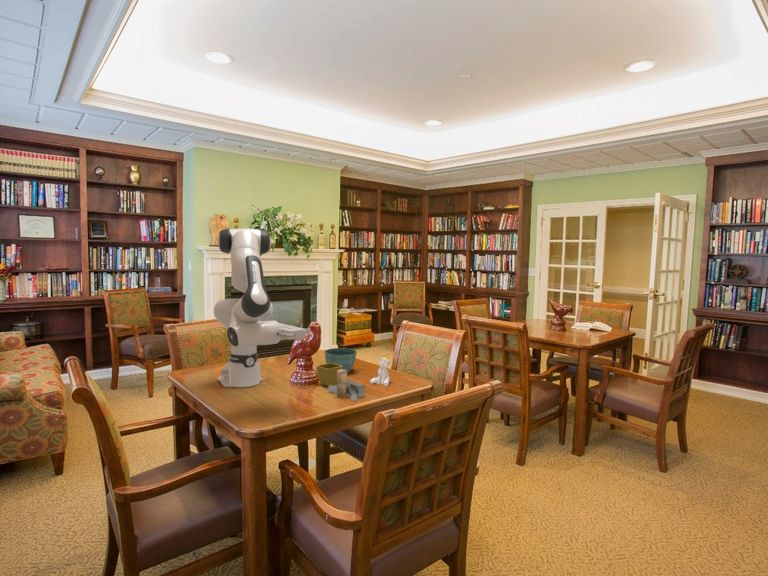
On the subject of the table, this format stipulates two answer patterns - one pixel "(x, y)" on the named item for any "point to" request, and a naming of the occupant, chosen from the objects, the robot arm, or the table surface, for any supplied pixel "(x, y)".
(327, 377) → the flower pot
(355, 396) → the crossed grey wooden bars
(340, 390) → the dowel
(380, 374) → the sitting furry creature
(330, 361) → the flower pot
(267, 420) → the table surface
